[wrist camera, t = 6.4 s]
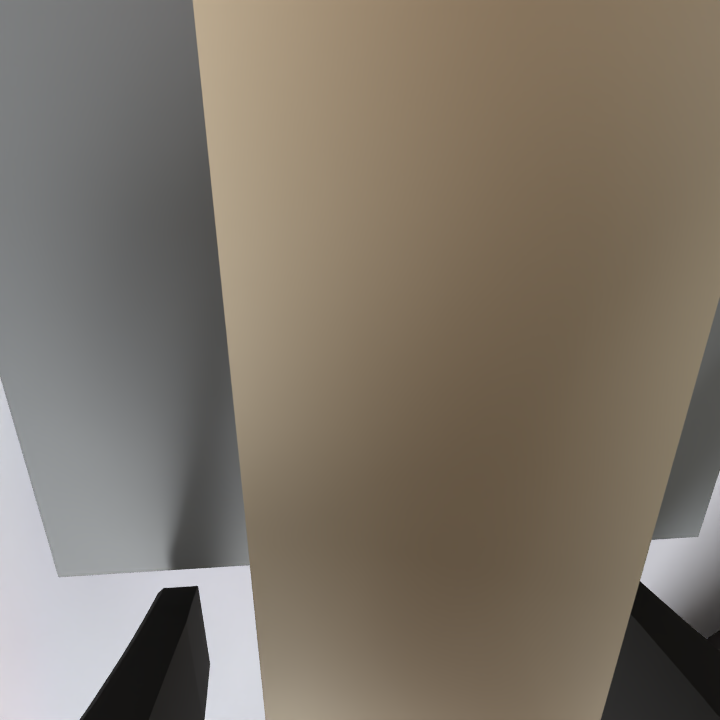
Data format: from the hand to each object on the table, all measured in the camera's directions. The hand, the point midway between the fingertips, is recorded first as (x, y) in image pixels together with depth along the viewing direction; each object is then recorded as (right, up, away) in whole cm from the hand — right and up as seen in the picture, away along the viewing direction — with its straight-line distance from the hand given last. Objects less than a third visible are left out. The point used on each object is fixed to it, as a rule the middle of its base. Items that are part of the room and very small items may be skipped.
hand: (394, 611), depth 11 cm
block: (0, +5, -2) cm, 5 cm away
